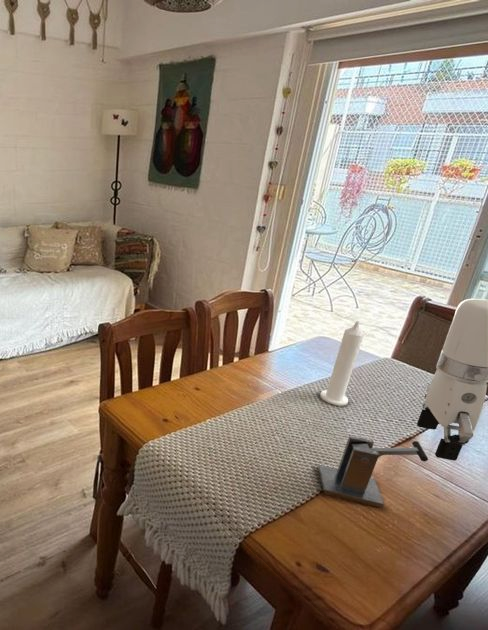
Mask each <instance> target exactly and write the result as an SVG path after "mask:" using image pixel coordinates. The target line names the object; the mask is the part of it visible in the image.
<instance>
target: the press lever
mask: <svg viewBox="0 0 488 630" xmlns="http://www.w3.org/2000/svg"><path fill="white" fill-rule="evenodd" d="M411 445H412V447H372V448H369V446H368V444H352V448H353V447H356V448H361V449H366V450H370V451H375V452H378V454H379V456H406V455H407V456H415V455H416V456H418V458H419V460H420V461H421V462H427V461H428V460H429V457H428V456H427V454H426V452H425V450H424V449H423V447H422V446H421V444H420V442H419V441H416V440H414V441H412V442H411Z"/></svg>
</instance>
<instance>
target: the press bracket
mask: <svg viewBox="0 0 488 630" xmlns="http://www.w3.org/2000/svg"><path fill="white" fill-rule="evenodd" d="M352 444H368V446H369V448H374V447H373V446H374V444H375V442H374V440H373V439H369V438H365V437H360V436H354V435H349V436H348V439H347V441H346V444H345V448H344V451H343V453H342V455H341V459H340V462H339V465H338V467H337V468H335V467H330V466H325V465H321V464H319V465H318V467H317V471H318V476H319V480H320V484H321V489H322V493H323V495H327V496H331V497H335V498H339V499H343V500H347V501H351V502H355V503H359V504H364V505H367V506H371V507H376V508H380V509H383V508H384V506H385V503H384V500H383V497H382V495H381V493H380V490H379V487H378V484H377V481H376V480H375V477H372V476H373V472H374V470H375V467H376V464H377V462H378V459H379V457H380V455H379V454H378V452H375V451H370V450H366V449H361V448H356V447H353V448H352Z"/></svg>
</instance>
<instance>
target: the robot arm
mask: <svg viewBox="0 0 488 630" xmlns="http://www.w3.org/2000/svg"><path fill="white" fill-rule="evenodd" d="M435 368H436V370H435V371H434V372H435V373H434V375H433V377H432V379H431V381H430V383H427V385H426V386H427V388H426V394H425V395H424V399H425V400H424V402H423V403H422V409H421V410H420V414H419V417H418V420H417V422H416V426H417V427H418V428H423V429H427V430H432V431H433V430H436V429H438V425H440V426H441V427H443V438H442V437H441V438H440V440H439V442H438V445H437V448H436V450H435V452H434V455H435V458H437V459H443V460H447V461H457V460H458V458H459V455H460V452H461V451H462V449H463V447H464V446H466V444H468V443H469V442H470V440H471V439H472V438H473V436H474V432H475V430H476V428H477V425H478V422H479V420H480V417H481V413H482V411H483V407H484V404H485V400H486V395H487V389H488V384H487V383H488V299H484V298H468V299H464V300H463V301H461V302H460V303H459V304H458V305H457V308H456V310H455V313H454V316H453V318H452V321H451V324H450V327H449V329H448V332H447V335H446V338H445V340H444V343H443V346H442V349H441V352H440V354H439V357H438V360H437V363H436V366H435ZM452 424H453V425H452ZM454 424H457V425H454ZM451 430H452V431H458V432H457V433H458V434H453V435H452V431H451Z"/></svg>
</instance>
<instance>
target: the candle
mask: <svg viewBox="0 0 488 630" xmlns="http://www.w3.org/2000/svg"><path fill="white" fill-rule="evenodd" d="M364 335H365V334H364V332H363V331H362V330H361V328H360V322H359V320H356V322H355V323H354V325H352V326H351V327H349V328H346V329H344V332H343V335H342V338H341V342H340V345H339V349H338V352H337V355H336V358H335V362H334V365H333V368H332V371H331V376H330V379H329V381H328V384H327V389H325V390H321V391H320V394H319V396H320V398H321V399H322V400H323V401H325V402H326V403H328V404H331V405H334V406H340V407H343V406H346V405H348V403H349V399H348V397H347V396H346V393H347V389H348V386H349V383H350V380H351V376H352V373H353V369H354V368H355V364H356V360H357V357H358V355H359V351H360V349H361V345H362V343H363V339H364Z"/></svg>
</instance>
